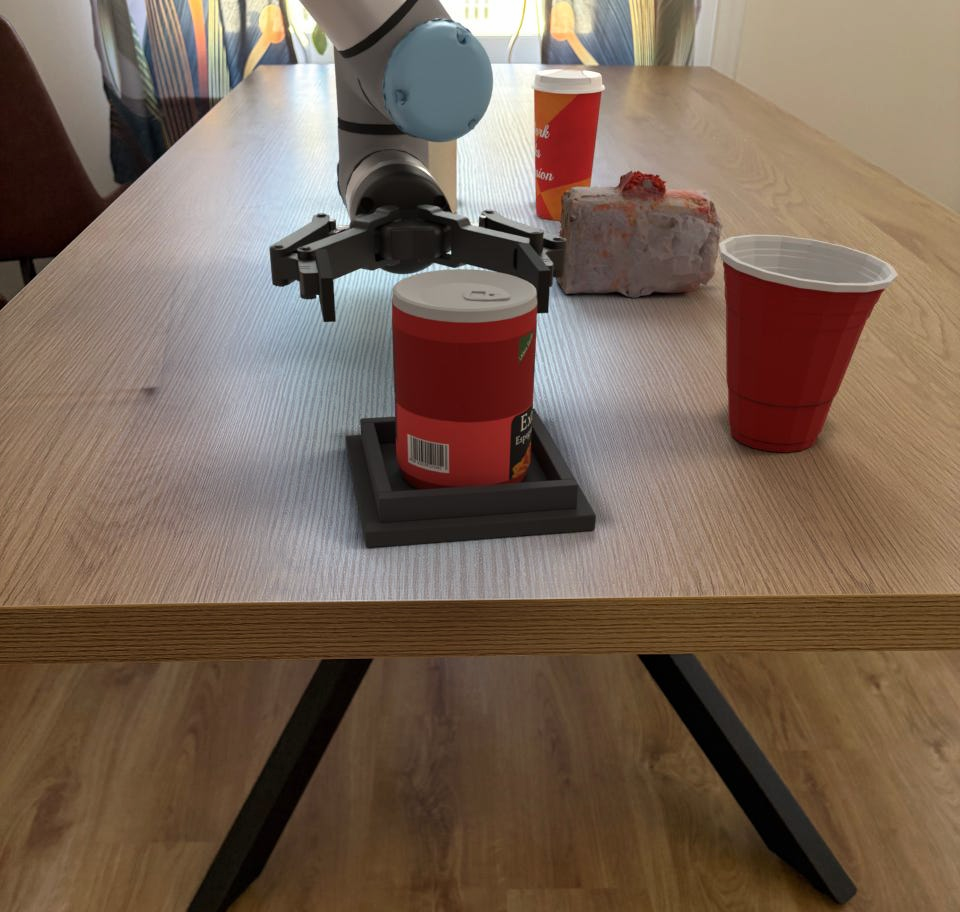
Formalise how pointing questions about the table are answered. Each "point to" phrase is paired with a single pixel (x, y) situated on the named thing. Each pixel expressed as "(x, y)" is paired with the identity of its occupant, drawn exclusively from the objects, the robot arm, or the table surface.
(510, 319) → the canned food
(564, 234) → the food item
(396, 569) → the table surface
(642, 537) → the table surface
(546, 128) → the paper cup
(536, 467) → the base pad
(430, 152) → the candle
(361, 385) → the table surface
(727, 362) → the plastic cup
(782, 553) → the table surface
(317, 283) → the robot arm
